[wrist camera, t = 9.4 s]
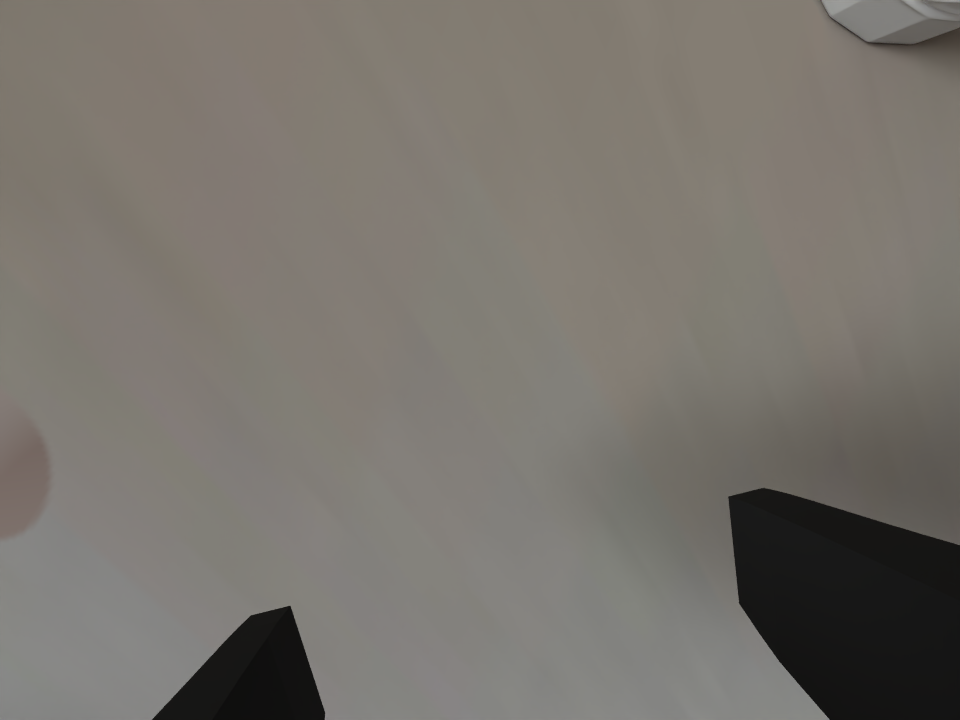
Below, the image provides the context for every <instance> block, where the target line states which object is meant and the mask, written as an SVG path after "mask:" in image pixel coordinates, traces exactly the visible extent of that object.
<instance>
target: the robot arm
mask: <svg viewBox="0 0 960 720" xmlns="http://www.w3.org/2000/svg"><path fill="white" fill-rule="evenodd" d="M728 498H729V508H730V518H731V527H732V537H733V547H734V557H735V567H736V576H737V586H738V596H739V604H740V605H741V607H742V608H743V610H744V611H745V613H746V614H747V616H748V617H749V619H750V620H751V622H752V623H753V625H754V626H755V628H756V629H757V631H758V632H759V634H760V635H761V636H762V638H763V639H764V641H765V642H766V643H767V645H768V646H769V648H770V649H771V650H772V652H773V653H774V655H775V656H776V657H777V659H778V660H779V662H780V663H781V664H782V665H783V666H784V667H785V669H786V670H787V671H788V672H789V673H790V674H791V676H792V677H793V678H794V679H795V680H796V681H797V683H798V684H799V685H800V686H801V687H802V688H803V689H804V691H805V692H806V693H807V694H808V695H809V696H810V697H811V699H812V700H813V701H814V702H815V703H816V704H817V706H818V707H819V708H820V709H821V710H822V711H823V712H824V714H825V715H826V716H827V717H828V718H829V719H830V720H960V545H957V544H954V543H950V542H947V541H943V540H940V539H936V538H933V537H929V536H926V535H922V534H919V533H916V532H912V531H909V530H906V529H902V528H899V527H896V526H892V525H889V524H886V523H883V522H879V521H876V520H873V519H870V518H866V517H863V516H860V515H857V514H854V513H850V512H847V511H844V510H841V509H837V508H834V507H831V506H828V505H824V504H821V503H818V502H815V501H811V500H808V499H804V498H801V497H798V496H794V495H791V494H787V493H783V492H779V491H775V490H770V489H766V488H761V489H757V490H753V491H749V492H745V493H741V494H737V495H733V496H729V497H728ZM152 720H325V711H324V708H323V705H322V702H321V699H320V696H319V693H318V689H317V686H316V683H315V680H314V677H313V674H312V671H311V668H310V665H309V662H308V659H307V656H306V652H305V649H304V646H303V643H302V640H301V637H300V634H299V631H298V628H297V625H296V622H295V619H294V615H293V612H292V609H291V606H287V607H283V608H279V609H275V610H271V611H267V612H263V613H259V614H255V615H251V616H250V617H249V618H248V619H247V620H246V621H245V622H244V623H243V624H242V625H241V626H240V627H239V628H238V629H237V630H236V631H235V632H234V633H233V634H232V635H231V636H230V637H229V638H228V639H227V640H226V641H225V642H224V643H223V644H222V645H221V646H220V647H219V648H218V649H217V651H216V652H215V653H214V654H213V655H212V656H211V657H210V658H209V659H208V660H207V661H206V662H205V663H204V665H203V666H202V667H201V668H200V669H199V670H198V671H197V672H196V673H195V674H194V675H193V676H192V678H191V679H190V680H189V681H188V682H187V683H186V684H185V685H184V686H183V687H182V688H181V689H180V690H179V691H178V693H177V694H176V695H175V696H174V697H173V698H172V699H171V700H170V701H169V702H168V703H167V704H166V705H165V706H164V708H163V709H162V710H161V711H160V712H159V713H158V714H157V715H156V716H155V717H154V718H153V719H152Z"/></svg>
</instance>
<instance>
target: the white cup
mask: <svg viewBox="0 0 960 720" xmlns="http://www.w3.org/2000/svg"><path fill="white" fill-rule="evenodd" d="M821 1H822V3H823V5H824V7H825V9H826V11H827V13H828V15H829V16H830V17H831V18H832V19H834V20H835V21H837V22H838V23H840V24H841V25H843V26H844V27H846V28H847V29H849V30H850V31H851V32H853V33H854V34H856V35H857V36H859V37H860V38H862V39H863V40H865V41H866V42H874V43H894V44H915V43H918V42H921V41H924V40H927V39H930V38H933V37H935V36H938V35H941V34H944V33H946V32H949V31H952V30H955V29H958V28H960V0H821Z"/></svg>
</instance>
